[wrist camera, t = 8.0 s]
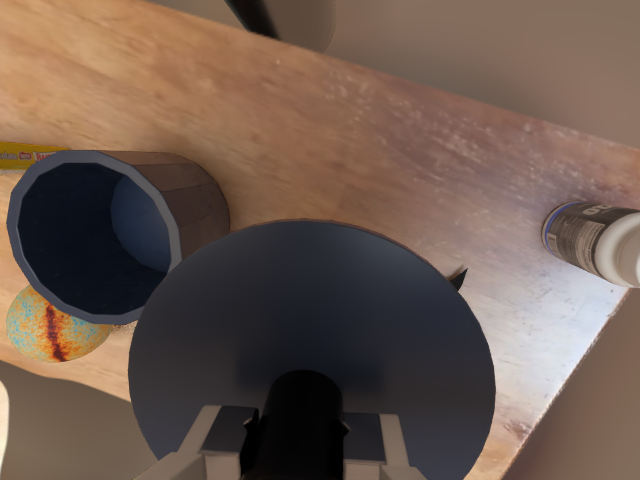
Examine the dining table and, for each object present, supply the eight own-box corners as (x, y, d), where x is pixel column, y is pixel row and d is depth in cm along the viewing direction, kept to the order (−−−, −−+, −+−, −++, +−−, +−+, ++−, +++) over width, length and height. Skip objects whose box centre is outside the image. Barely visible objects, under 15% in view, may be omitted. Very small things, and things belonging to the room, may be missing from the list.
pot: (98, 152, 27) (-12, 149, 18) (225, 153, 26) (170, 149, 18) (117, 276, 29) (28, 322, 21) (233, 279, 28) (189, 328, 20)
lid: (126, 212, 10) (-72, 258, 5) (503, 217, 10) (673, 276, 5) (165, 499, 13) (57, 704, 8) (462, 520, 12) (542, 761, 7)
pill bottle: (613, 204, 25) (745, 226, 17) (592, 262, 26) (706, 310, 18) (549, 196, 25) (649, 213, 17) (532, 254, 26) (617, 297, 18)
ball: (58, 321, 31) (-23, 368, 24) (62, 252, 29) (-24, 281, 22) (130, 341, 31) (70, 392, 24) (138, 273, 29) (76, 307, 22)
